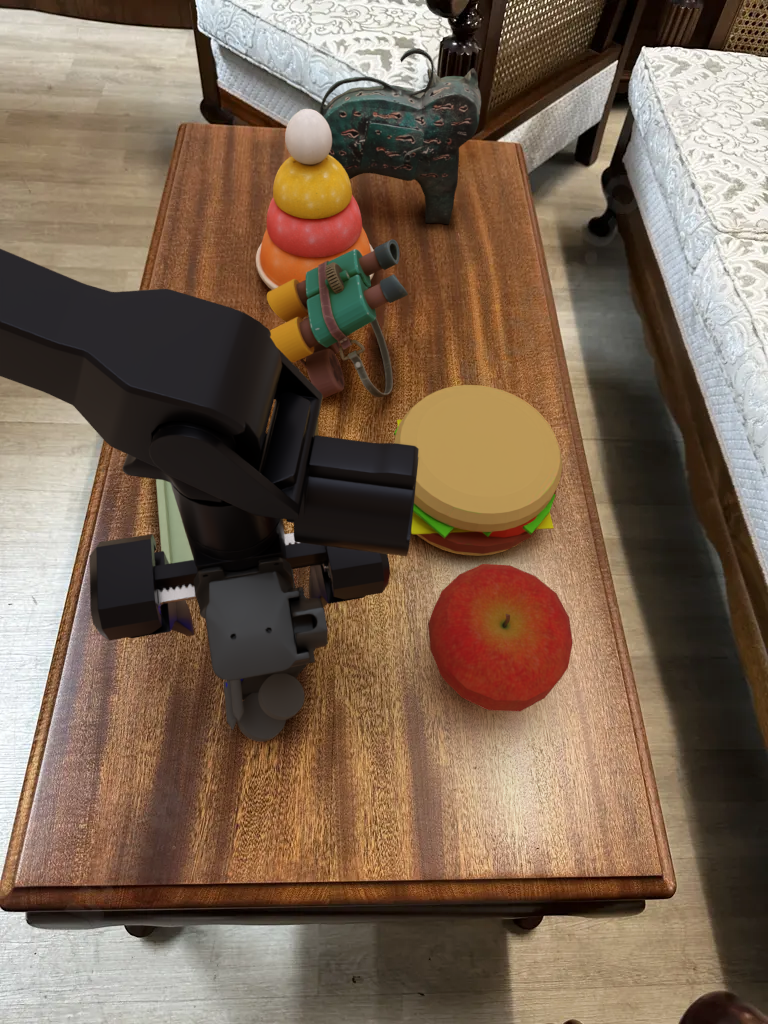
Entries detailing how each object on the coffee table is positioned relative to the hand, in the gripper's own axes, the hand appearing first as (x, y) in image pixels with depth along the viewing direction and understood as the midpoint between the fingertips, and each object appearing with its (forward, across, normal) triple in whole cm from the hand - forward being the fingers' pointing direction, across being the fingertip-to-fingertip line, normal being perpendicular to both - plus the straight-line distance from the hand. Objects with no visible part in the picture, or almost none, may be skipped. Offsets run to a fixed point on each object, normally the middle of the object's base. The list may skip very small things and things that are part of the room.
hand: (253, 618), depth 54 cm
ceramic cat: (+8, +24, +57) cm, 62 cm away
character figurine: (+8, 0, 0) cm, 8 cm away
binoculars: (+8, +12, +31) cm, 34 cm away
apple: (+8, +18, -5) cm, 20 cm away
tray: (+8, -2, +16) cm, 18 cm away
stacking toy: (+8, +13, +47) cm, 49 cm away
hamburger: (+8, +22, +13) cm, 27 cm away
